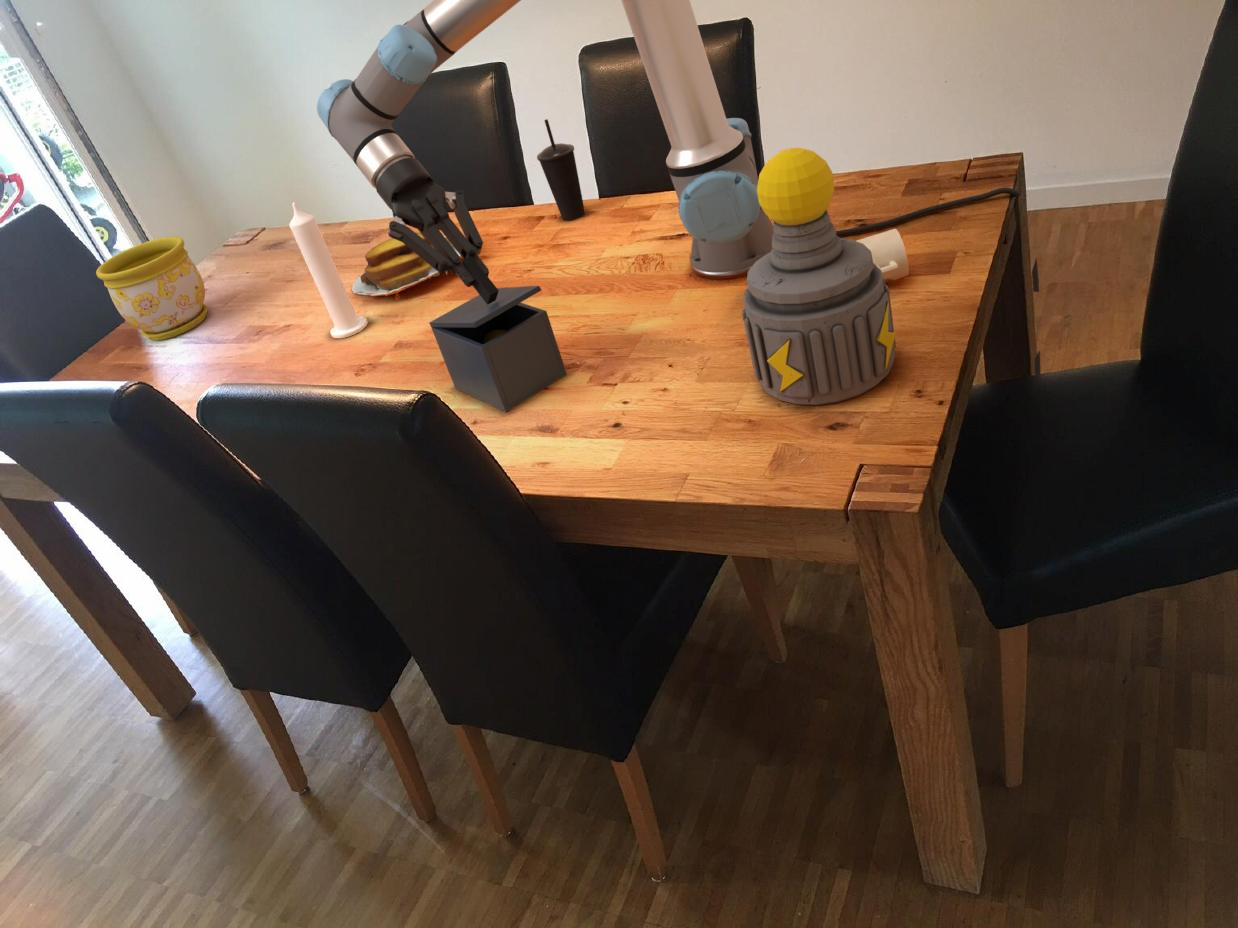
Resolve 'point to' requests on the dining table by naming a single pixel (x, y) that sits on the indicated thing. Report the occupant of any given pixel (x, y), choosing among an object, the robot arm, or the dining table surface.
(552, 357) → the box
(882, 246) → the character mug
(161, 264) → the flowerpot
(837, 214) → the dining table surface
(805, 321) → the decorative lamp
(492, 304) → the lid
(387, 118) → the robot arm
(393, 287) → the food on plate
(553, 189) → the drinking cup
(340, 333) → the candle
